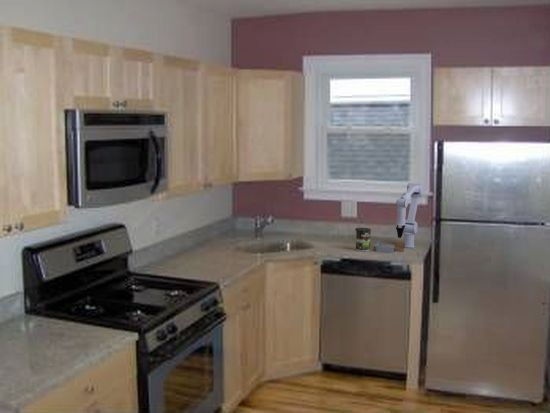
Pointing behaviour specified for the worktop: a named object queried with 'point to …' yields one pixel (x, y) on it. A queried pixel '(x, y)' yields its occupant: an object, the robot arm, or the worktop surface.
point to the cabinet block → (399, 246)
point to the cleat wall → (383, 248)
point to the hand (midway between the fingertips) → (399, 236)
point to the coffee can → (362, 239)
